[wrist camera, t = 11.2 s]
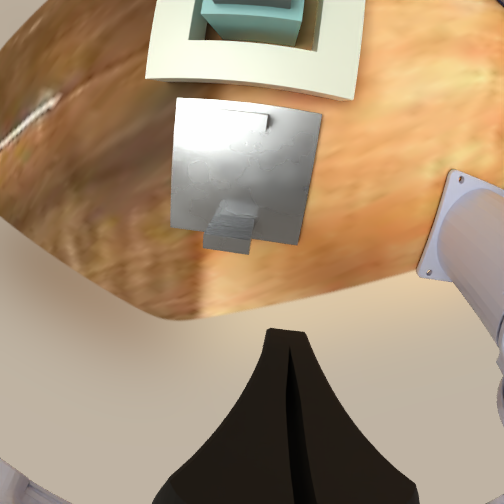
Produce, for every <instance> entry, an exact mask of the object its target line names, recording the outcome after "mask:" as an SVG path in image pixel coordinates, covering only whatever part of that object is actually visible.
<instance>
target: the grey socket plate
mask: <svg viewBox="0 0 504 504" xmlns="http://www.w3.org/2000/svg"><path fill="white" fill-rule="evenodd" d="M321 117H322V114H318V113H313V112H308V111H302V110H297V109H291V108H284V107H278V106H271V105H263V104H255V103H246V102H236V101H225V100H212V99H193V98H177V105H176V117H175V129H174V143H173V160H172V182H171V227H174V228H181V229H188V230H195V231H202V232H205V233H204V237H203V248H206V249H213V250H220V251H227V252H233V253H240V254H247V255H249V251H250V245H251V240H252V239H258V240H265V241H272V242H278V243H285V244H292V245H298V240H299V235H300V230H301V226H302V221H303V216H304V211H305V206H306V201H307V196H308V190H309V185H310V180H311V175H312V169H313V164H314V158H315V153H316V147H317V141H318V135H319V130H320V123H321Z"/></svg>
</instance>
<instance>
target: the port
mask: <svg viewBox="0 0 504 504" xmlns="http://www.w3.org/2000/svg"><path fill="white" fill-rule="evenodd" d="M202 3H203V0H157V4H156V9H155V14H154V20H153V26H152V32H151V38H150V44H149V51H148V59H147V67H146V76H145V79H151V80H158V81H163V82H200V83H220V84H233V85H244V86H254V87H262V88H270V89H277V90H284V91H291V92H297V93H302V94H308V95H313V96H318V97H323V98H328V99H333V100H337V101H348V100H353V99H354V93H355V86H356V80H357V73H358V65H359V57H360V49H361V41H362V32H363V22H364V11H365V0H318V4H317V13H316V21H315V28H314V36H313V44H312V51H309V50H304V49H298V48H292V47H285V46H278V45H270V44H261V43H251V42H238V41H217V40H205V34H206V28H207V20H206V19H205V18H204V17H203V16H202V15H201V9H202Z"/></svg>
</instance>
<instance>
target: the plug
mask: <svg viewBox="0 0 504 504" xmlns="http://www.w3.org/2000/svg"><path fill="white" fill-rule="evenodd" d="M303 8H304V0H203V3H202V9H201V15H202V16H203V17H204V18H205V19H206V20H207V22H208V23H209V24H210V25H211V26H212V27H213V28H214V30H215V31H216V32H217V33H218V34H219V35H220V37H221V38H222V39H223V40H241V41H254V42H264V43H273V44H281V45H288V46H294V47H295V43H296V40H297V36H298V33H299V29H300V26H301V22H302V16H303Z"/></svg>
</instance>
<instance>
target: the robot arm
mask: <svg viewBox="0 0 504 504" xmlns="http://www.w3.org/2000/svg"><path fill="white" fill-rule="evenodd" d="M460 176H461V181H460V182H459V177H460ZM428 270H430V271H429V272H428V273H427V271H428ZM416 272H417V274H418V276H419V277H421V278H428V279H435V280H441V281H448V282H453V283H454V284H455V285H456V287H457V288H458V289H459V291H460V292H461V293H462V295H463V296H464V297H465V299H466V300H467V301H468V303H469V304H470V305H471V307H472V308H473V310H474V311H475V313H476V314H477V315H478V317H479V318H480V320H481V321H482V323H483V324H484V326H485V327H486V329H487V330H488V332H489V333H490V335H491V336H492V338H493V340H494V341H495V342H496V344H497V346H498V347H499V350H500V354H499V357H498V359H497V361H496V363H497V365H498V366H499V368H500V370H501V372H502V374H503V377H502V379H501V382H500V384H499V387H498V392H497V408H498V413H499V416H500V419H501V422H502V424H503V426H504V189H501V188H499V187H497V186H495V185H492V184H490V183H488V182H486V181H483V180H481V179H478V178H476V177H474V176H471V175H469V174H466V173H463V172H461V171H458V170H456V169H452V170H451V171H450V172H449V174H448V177H447V180H446V184H445V188H444V191H443V195H442V198H441V202H440V205H439V208H438V211H437V214H436V218H435V221H434V224H433V227H432V230H431V232H430V235H429V238H428V241H427V244H426V246H425V249H424V252H423V254H422V257H421V259H420V262H419V264H418V267H417V270H416ZM0 504H72V503H70V502H68V501H66V500H64V499H62V498H60V497H58V496H57V495H55V494H53V493H51V492H49V491H48V490H46V489H44V488H42V487H41V486H39V485H37V484H36V483H34V482H32V481H31V480H29V479H28V478H27V477H26V476H25V475H23V474H22V473H21V472H19V471H18V470H16V469H15V468H13V467H12V466H11V465H9V464H8V463H6V462H5V461H4V460H2V459H1V458H0ZM152 504H420V503H419V495H418V491H417V488H416V484H415V483H414V482H412V481H411V480H409V478H407V477H406V476H405V475H403V474H402V473H401V472H400V471H398V470H397V469H396V468H395V467H394V466H393V465H392V464H390V462H388V461H387V460H386V459H385V458H384V457H383V456H382V455H381V454H380V453H379V452H378V451H377V450H376V449H375V447H374V446H373V445H372V444H371V443H370V442H369V441H368V440H367V438H366V437H365V436H364V435H363V434H362V433H361V431H360V430H359V429H358V427H357V426H356V425H355V424H354V422H353V421H352V420H351V418H350V417H349V415H348V414H347V412H346V411H345V410H344V408H343V406H342V405H341V403H340V402H339V400H338V398H337V397H336V395H335V393H334V392H333V390H332V388H331V387H330V385H329V383H328V381H327V379H326V377H325V375H324V373H323V371H322V370H321V367H320V365H319V363H318V361H317V359H316V357H315V355H314V353H313V350H312V348H311V345H310V343H309V340H308V338H307V335H306V334H305V332H300V331H290V330H283V329H274V328H270V329H267V331H266V335H265V340H264V345H263V350H262V354H261V356H260V358H259V361H258V363H257V366H256V368H255V370H254V372H253V374H252V376H251V378H250V380H249V382H248V383H247V385H246V387H245V389H244V391H243V392H242V394H241V396H240V397H239V399H238V400H237V402H236V404H235V405H234V407H233V408H232V409H231V411H230V412H229V414H228V415H227V417H226V418H225V419H224V420H223V422H222V423H221V425H220V426H219V427H218V428H217V429H216V431H215V432H214V433H213V434H212V436H211V437H210V438H209V439H208V440H207V441H206V442H205V443H204V444H203V446H201V448H200V449H199V450H198V451H197V452H196V453H195V454H194V455H193V456H192V457H191V458H190V459H189V460H188V461H187V462H186V463H185V464H183V465H182V466H181V467H180V468H179V469H178V470H177V471H176V472H175V473H173V474H172V475H171V476H170V477H169V478H168V480H167V481H166V483H165V484H164V485H163V487H162V488H161V489H160V491H159V492H158V493H157V495H156V497H155V498H154V500H153V502H152ZM486 504H504V494H503V495H501V496H499V497H497V498H495V499H494V500H492V501H490V502H488V503H486Z"/></svg>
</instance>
